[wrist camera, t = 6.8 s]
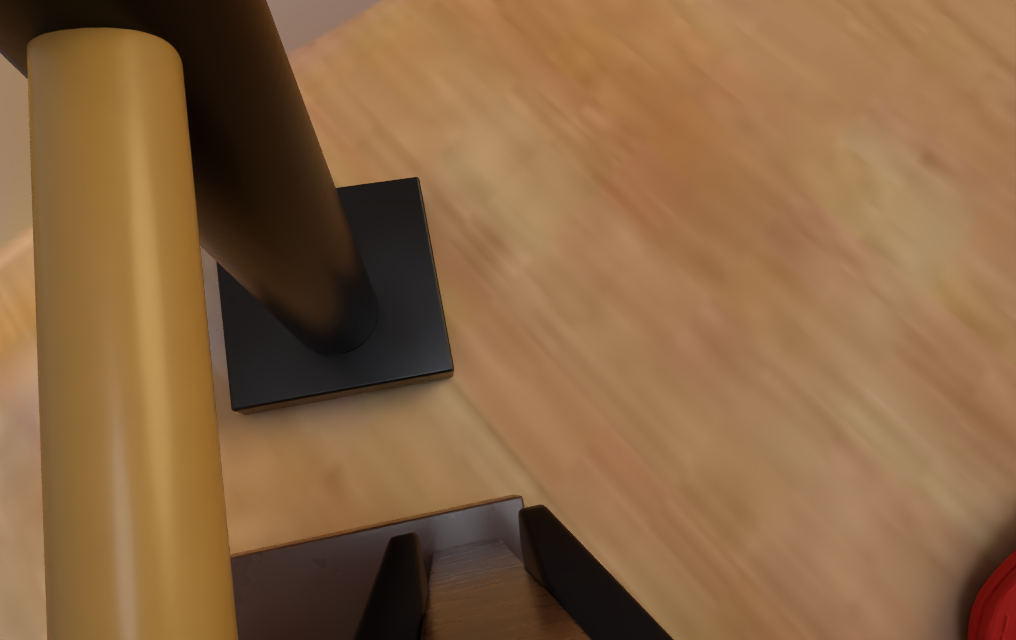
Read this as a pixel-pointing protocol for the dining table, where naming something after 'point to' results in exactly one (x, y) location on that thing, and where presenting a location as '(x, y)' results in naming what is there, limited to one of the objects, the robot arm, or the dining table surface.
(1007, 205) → the dining table surface
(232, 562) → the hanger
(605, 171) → the dining table surface
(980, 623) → the tracker holder
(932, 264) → the dining table surface
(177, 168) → the coat rack
